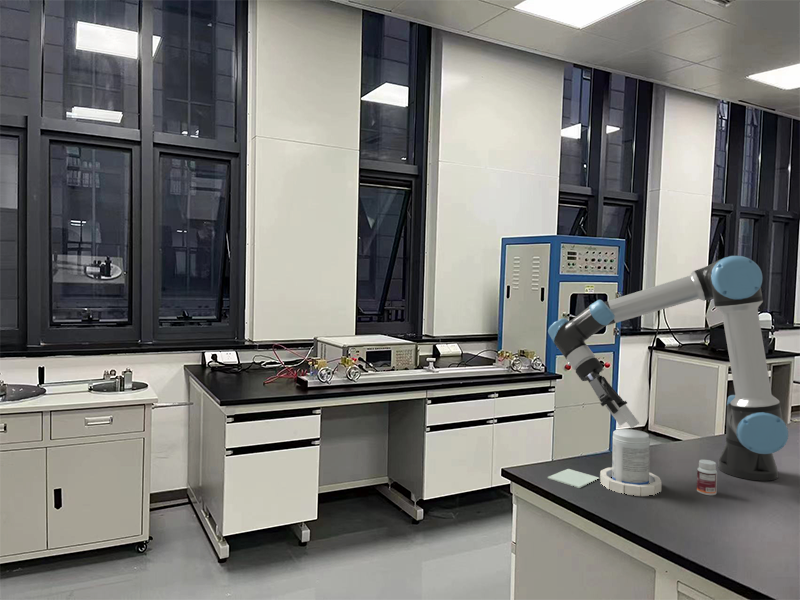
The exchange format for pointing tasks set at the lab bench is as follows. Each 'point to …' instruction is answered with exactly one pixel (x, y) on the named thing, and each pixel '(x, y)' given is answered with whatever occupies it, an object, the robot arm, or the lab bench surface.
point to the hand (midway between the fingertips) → (630, 424)
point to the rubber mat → (573, 478)
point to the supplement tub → (630, 456)
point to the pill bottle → (707, 477)
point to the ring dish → (630, 488)
